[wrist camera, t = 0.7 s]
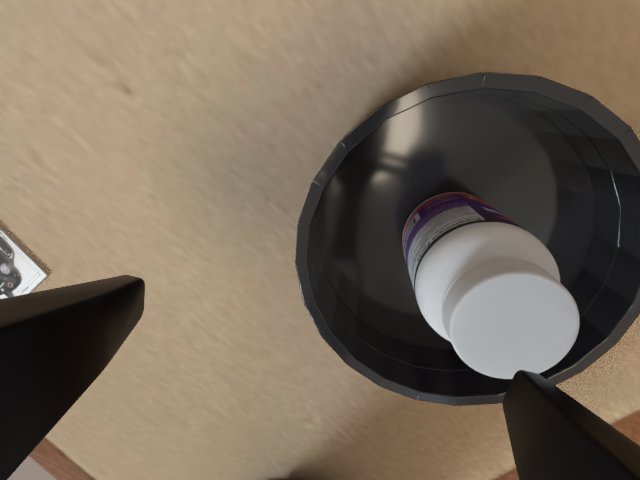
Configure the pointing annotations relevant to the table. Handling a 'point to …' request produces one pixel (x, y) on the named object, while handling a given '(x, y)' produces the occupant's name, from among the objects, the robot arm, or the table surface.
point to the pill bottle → (488, 286)
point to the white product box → (17, 268)
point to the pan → (494, 188)
